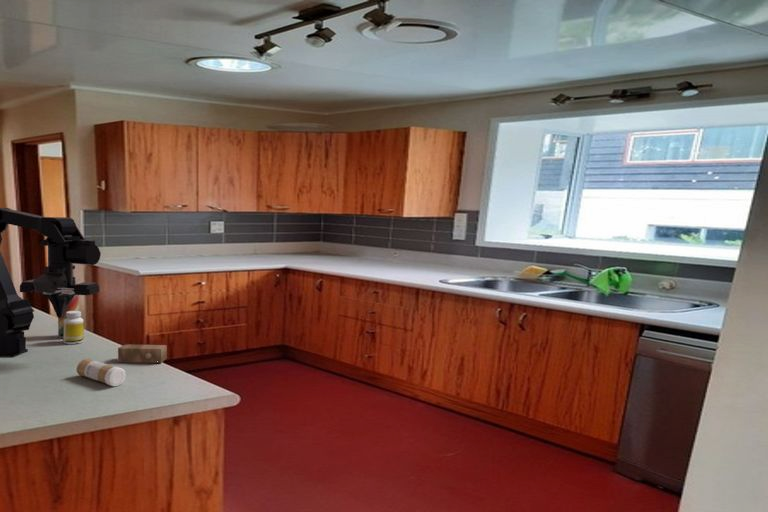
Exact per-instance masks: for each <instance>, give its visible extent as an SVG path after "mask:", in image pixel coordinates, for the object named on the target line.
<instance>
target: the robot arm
mask: <svg viewBox="0 0 768 512" xmlns="http://www.w3.org/2000/svg"><path fill="white" fill-rule="evenodd" d="M9 225H11V226H16V227H21V228H23V229H24V228H26V229H30V230H34V231H36V232H37V233H38V234H39V235H41V236H44V237H46V238H45V239H44V240H43V241H42V242H40V244H39V245H40V246H42V247H44V246H45V247H46V246H47V265H46V266H44V269H43V273H42V274H40V275H39V276H37V277H36V278H35V279H29V280H26V281H22V282H21V283H20V285H19V293H32V292H34V293H36V294H38V293H39V294H40V295H41V296H42V297H45V298H46V299H48V300H49V302H50V304H51V305H52V308H53V310H54V312H55V315H56V316H57V319H58V318H62V317H63V316H64V314H65V312H66V310H67V308H68V306H69V304H70V302H71V301H72V299H73V297H74V296H75V295H79V296H91V295H94V294H98V293H100V285H99V284H98V282H94V281H93V282H90V281H89V282H88V281H84V282H80V283H77V284H76V285H72V284H74V283H75V281H76V279H75V280H72V277H73V270H76V265H87V266H95V265H96V264H98V262H100V259H101V250H100V249H99V247H98V245H96V241H95V240H93V239H91V240H90V239H88V240H86V239H85V237H84V236H83V234H82V232H81V231H80V229H79V228H78V226H77V225H76V222H75V220H74V219H73V218H71V217H64V216H62V217H61V216H60V217H59V216H43V215H38V214H34V213H29V212H24V211H19V210H16V209H11V208H9V207H0V246H1V245H2V241H3V237H2V233H4V232H5V231H6V230H7V229H8V227H9ZM3 257H4V256H3V254H2V252H1V251H0V357H9V358H12V357H16V356H18V355H21V354H23V353H25V352H28V351H29V349H28V348H27V345H26V344H27V343H26V340H27V339H26V336H25V331H29V329H30V327H31V324H32V322H33V320H34V318H35V316H34V315H35V314H34V312H35V310H34V308H33V307H32V303H31V301H30V299H29V298H25V299H24V298H22V297H20V295H18V293H17V290H16V288H15V284H14V283H13V282H14V281H13V280H12V278H11V275H10V272H9V270H8V267H7V265H6V262H5V260H4V258H3ZM73 264H75V265H73ZM64 287H65V288H64ZM66 287H67V288H66Z"/></svg>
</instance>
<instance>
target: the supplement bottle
mask: <svg viewBox="0 0 768 512" xmlns="http://www.w3.org/2000/svg"><path fill="white" fill-rule="evenodd" d="M81 316H82V311H80V310H79V311H68V312H66V317H67V319H65V320H64V331H63V339H62V340H63V343H64V344H66V345H76V343H78V344H81V342H82V343H83V342H84V326H85V325H84V323H85V322H84V318H82V317H81Z"/></svg>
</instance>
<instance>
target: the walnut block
mask: <svg viewBox="0 0 768 512" xmlns="http://www.w3.org/2000/svg"><path fill="white" fill-rule="evenodd" d="M167 347H168V346H167V345H166V344H123V345H121V346H119V347H118V348H117V361H118V363H148V364H149V363H153V364H154V363H156V364H157V363H159V364H161V363H163V362H164V361H165V360H166V359H167V357H168V356H167V353H168V349H167ZM157 361H158V362H157Z"/></svg>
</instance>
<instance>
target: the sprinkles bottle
mask: <svg viewBox="0 0 768 512" xmlns="http://www.w3.org/2000/svg"><path fill="white" fill-rule="evenodd" d="M76 373H77V374H78V375H79V376H81V377H86V378H88V379H90V380H93V381H97V382H101V383H104V384H107V385H108V386H111V387H118V386H120V385H122V384H123V383H124V381H125V379H126V376H127V375H126V374H127V373H126V371H125V369H123V368H121V367H119V366H114V365H113V366H112V365H110V364H108V363H107V364H106V363H102V362H100V361H96V360H93V359H91V358H84V359H81V361H79V363H78V364H77V366H76Z"/></svg>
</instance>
